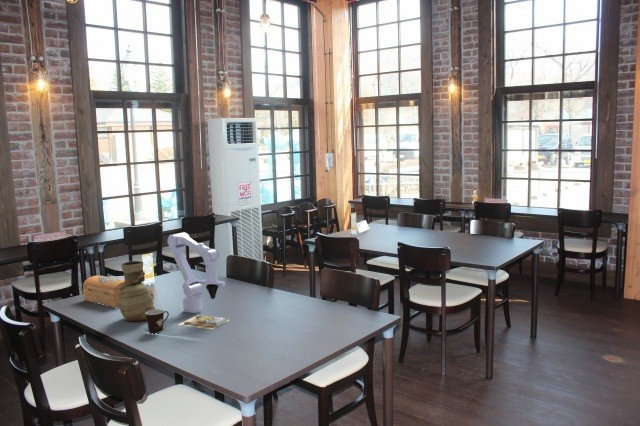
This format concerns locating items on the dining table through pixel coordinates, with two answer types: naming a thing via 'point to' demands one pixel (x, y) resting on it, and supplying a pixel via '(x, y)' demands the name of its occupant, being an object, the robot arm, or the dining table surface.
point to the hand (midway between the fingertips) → (213, 298)
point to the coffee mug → (155, 320)
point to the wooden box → (102, 290)
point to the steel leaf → (215, 321)
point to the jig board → (192, 323)
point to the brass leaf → (204, 319)
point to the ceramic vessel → (135, 293)
